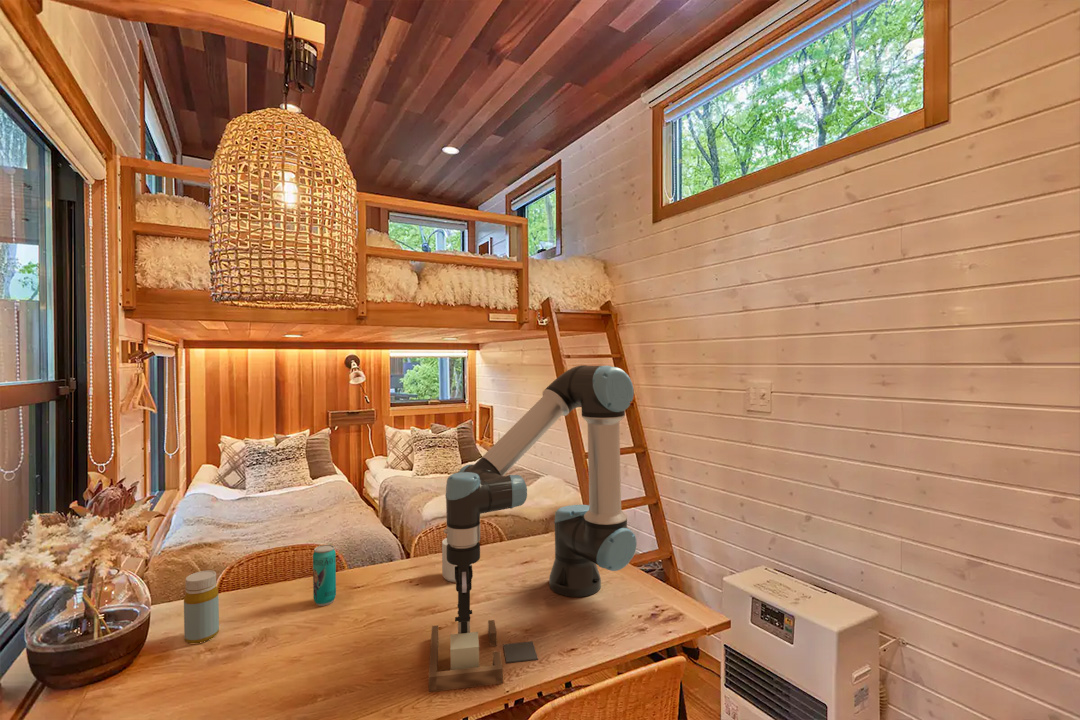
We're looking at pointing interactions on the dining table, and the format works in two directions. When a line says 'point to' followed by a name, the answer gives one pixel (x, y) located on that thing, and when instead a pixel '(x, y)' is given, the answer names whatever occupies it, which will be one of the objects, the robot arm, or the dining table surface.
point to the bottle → (201, 607)
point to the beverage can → (324, 575)
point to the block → (464, 650)
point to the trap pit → (520, 652)
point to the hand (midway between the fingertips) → (464, 646)
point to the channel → (464, 676)
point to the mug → (447, 564)
